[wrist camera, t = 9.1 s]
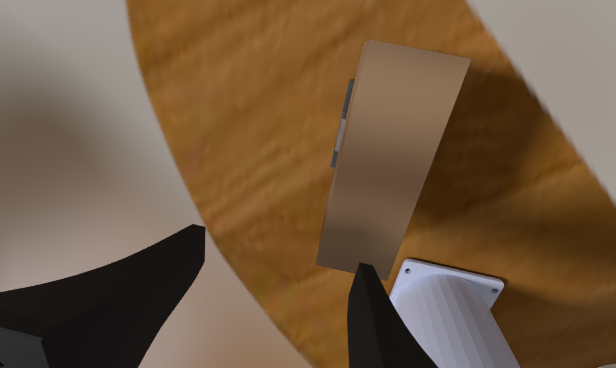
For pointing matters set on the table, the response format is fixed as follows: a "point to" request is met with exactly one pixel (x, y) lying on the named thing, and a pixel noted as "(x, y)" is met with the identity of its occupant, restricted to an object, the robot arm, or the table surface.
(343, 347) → the table surface
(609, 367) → the cylinder with rectangular tab
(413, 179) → the rectangular block
